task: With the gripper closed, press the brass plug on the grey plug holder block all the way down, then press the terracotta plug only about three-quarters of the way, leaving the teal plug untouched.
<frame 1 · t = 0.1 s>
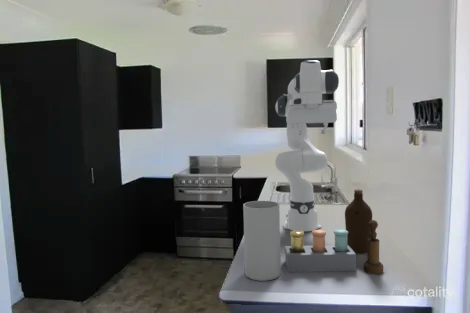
hand: (311, 134, 151), 48 cm above the worktop, fingers open, 8 cm apart
cylinder vase: (262, 274, 130), on the worktop
plug c: (341, 241, 135), point 9 cm above the worktop, slide at 0.0 cm
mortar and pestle: (373, 271, 130), on the worktop
plug a: (297, 242, 135), point 9 cm above the worktop, slide at 0.0 cm
plug b: (318, 242, 135), point 9 cm above the worktop, slide at 0.0 cm
olive oil: (358, 250, 151), on the worktop
grey plug holder block: (319, 265, 136), on the worktop
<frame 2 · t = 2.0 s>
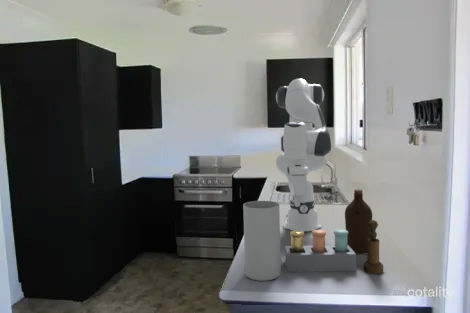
hand: (296, 204, 134), 23 cm above the worktop, fingers open, 4 cm apart
nothing on the worktop moved.
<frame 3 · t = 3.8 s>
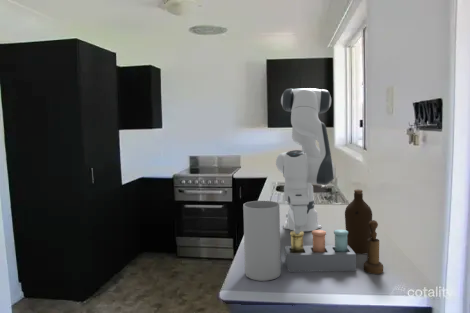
hand: (297, 232, 135), 13 cm above the worktop, fingers closed, pressing on plug a
plug a: (297, 243, 135), point 9 cm above the worktop, slide at 0.1 cm, touching gripper
everything else where it was.
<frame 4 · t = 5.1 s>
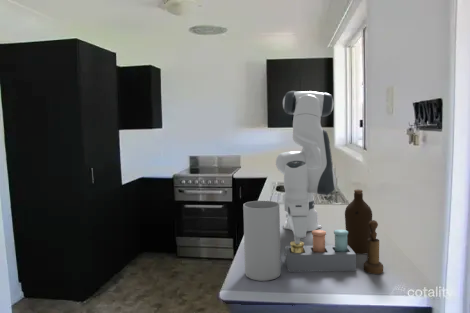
hand: (297, 242, 135), 9 cm above the worktop, fingers closed
plug a: (297, 253, 136), point 5 cm above the worktop, slide at 4.0 cm
everything else where it was.
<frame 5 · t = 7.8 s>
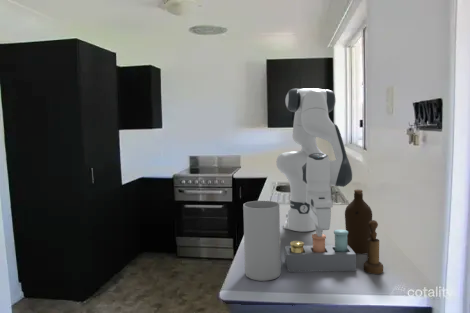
hand: (319, 235, 135), 11 cm above the worktop, fingers closed, pressing on plug b
plug b: (319, 245, 135), point 8 cm above the worktop, slide at 1.4 cm, touching gripper
everything else where it was.
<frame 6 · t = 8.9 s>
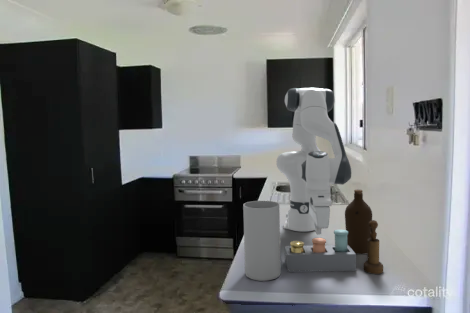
hand: (318, 233, 135), 12 cm above the worktop, fingers closed
plug b: (319, 250, 135), point 6 cm above the worktop, slide at 3.0 cm
everything else where it was.
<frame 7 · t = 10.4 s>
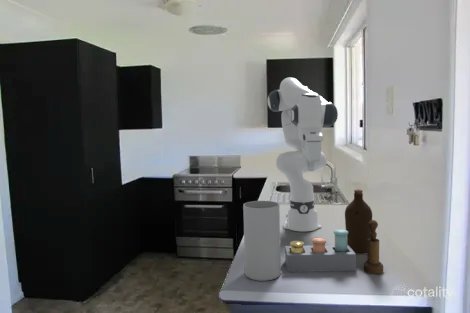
hand: (310, 171, 143), 34 cm above the worktop, fingers closed
nothing on the worktop moved.
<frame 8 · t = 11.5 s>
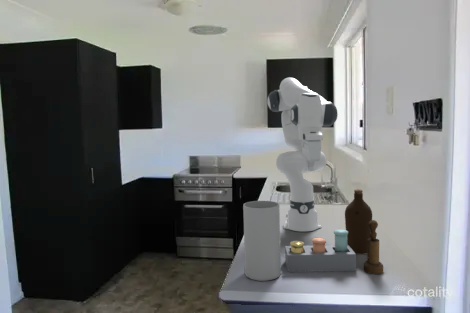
hand: (310, 170, 143), 34 cm above the worktop, fingers closed
nothing on the worktop moved.
at the end: plug a slide at 4.0 cm; plug b slide at 3.0 cm; plug c slide at 0.0 cm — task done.
